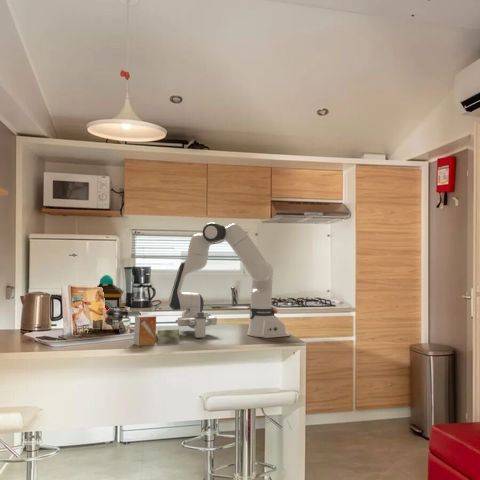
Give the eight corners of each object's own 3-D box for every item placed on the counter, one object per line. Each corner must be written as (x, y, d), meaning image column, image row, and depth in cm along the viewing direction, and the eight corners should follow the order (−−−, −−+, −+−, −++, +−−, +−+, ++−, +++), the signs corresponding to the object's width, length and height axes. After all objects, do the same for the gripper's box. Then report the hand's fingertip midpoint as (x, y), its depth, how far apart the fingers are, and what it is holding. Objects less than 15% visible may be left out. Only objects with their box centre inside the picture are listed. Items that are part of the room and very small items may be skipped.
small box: (138, 346, 200) (139, 317, 201) (133, 343, 205) (134, 315, 206) (155, 344, 204) (156, 316, 205) (150, 342, 210) (151, 314, 210)
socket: (174, 338, 220) (175, 326, 221) (178, 342, 211) (179, 329, 211) (154, 339, 217) (154, 327, 217) (157, 343, 208) (157, 330, 208)
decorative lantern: (88, 328, 246) (90, 273, 248) (125, 328, 250) (126, 274, 252) (82, 334, 227) (84, 275, 228) (122, 334, 231) (124, 275, 232)
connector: (203, 335, 226) (203, 311, 227) (205, 337, 222) (206, 312, 222) (194, 335, 225) (194, 311, 225) (196, 337, 220) (196, 312, 221)
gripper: (174, 314, 233) (179, 317, 220) (212, 313, 239) (220, 316, 226) (174, 326, 232) (179, 330, 219) (212, 325, 239) (219, 329, 226)
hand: (200, 323), depth 223 cm, fingers closed on connector, 4 cm apart
